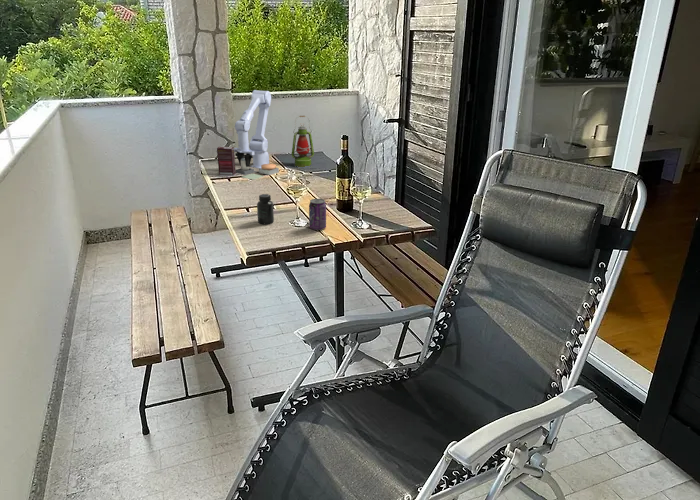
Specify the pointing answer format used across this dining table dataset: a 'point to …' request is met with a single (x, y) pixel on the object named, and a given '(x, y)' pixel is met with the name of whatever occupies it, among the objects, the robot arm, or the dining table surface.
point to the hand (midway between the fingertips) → (244, 165)
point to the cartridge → (244, 165)
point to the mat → (252, 176)
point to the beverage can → (317, 214)
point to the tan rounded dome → (268, 166)
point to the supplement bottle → (265, 210)
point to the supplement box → (226, 161)
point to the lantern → (302, 146)
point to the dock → (245, 171)
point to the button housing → (268, 171)
